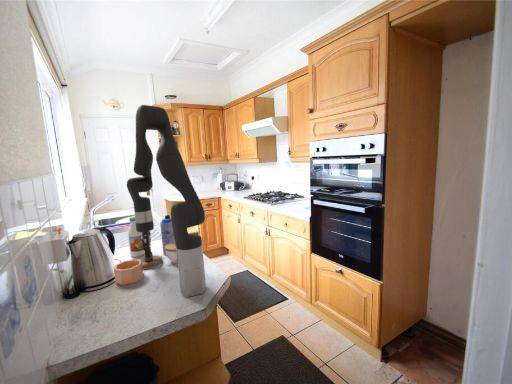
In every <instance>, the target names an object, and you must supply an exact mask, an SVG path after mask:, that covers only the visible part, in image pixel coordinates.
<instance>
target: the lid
mask: <svg viewBox="0 0 512 384" xmlns="http://www.w3.org/2000/svg"><path fill="white" fill-rule="evenodd" d="M150 255H151V257H149V258H146V257H145V253H144V255H143V257H142V258H140V259H139V260H141V261H142V268H150V269H152V268H151V267H154V266H156V265H158V264H160V263H161V262H163V257H161V255H160V256H159V255H153V251H152V250H151V251H150Z"/></svg>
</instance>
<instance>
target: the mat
mask: <svg viewBox="0 0 512 384" xmlns="http://www.w3.org/2000/svg"><path fill="white" fill-rule="evenodd" d="M160 257H162V256H161V255H160ZM162 258H163V257H162ZM162 262H163V261H162ZM162 262H161V263H160V264H158V265H156V266H154V267H151V268H143V271H144V270H149V269H154V268H160V267H162V265H163V263H162Z"/></svg>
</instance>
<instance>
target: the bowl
mask: <svg viewBox="0 0 512 384" xmlns="http://www.w3.org/2000/svg"><path fill="white" fill-rule="evenodd" d="M113 273H114V281H115V284H118V285H121V286H123V285H128V284H134V283H136V282H138V281H140V280H141V279H143V277H144V270H143V268H142V261H141V260H140V259H136V258H135V259H129V260H128V259H127V260H124V261H121V262H119V263H117V264H116V265H114V268H113Z"/></svg>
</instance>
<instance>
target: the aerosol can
mask: <svg viewBox="0 0 512 384" xmlns="http://www.w3.org/2000/svg"><path fill="white" fill-rule="evenodd" d="M159 223H160V225H159V226H160V233H161V244H162V251H163V252H162V255H163V256H165V257H167V255H166V250H165V246H166V245H168V244H170V243H173V242H175V239H174V234H173V227H172V221H171V215H169V214H166V215H165V216H164V218H163V219H161V221H160V222H159Z"/></svg>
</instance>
